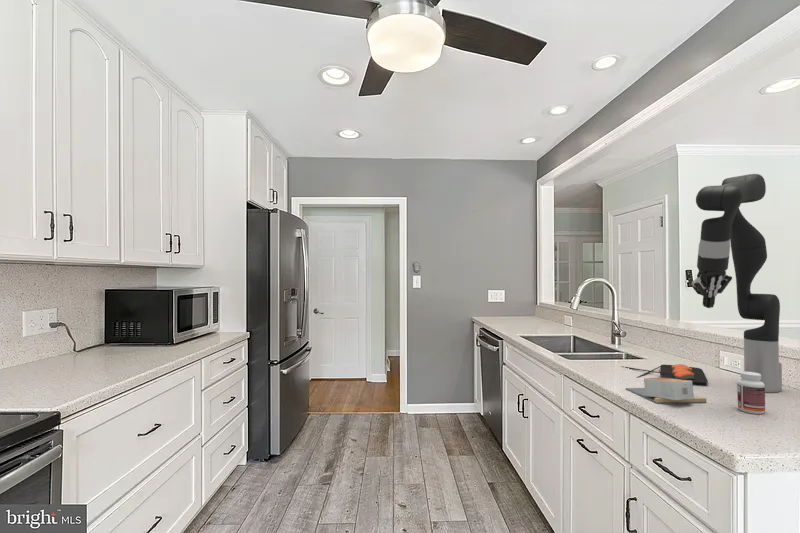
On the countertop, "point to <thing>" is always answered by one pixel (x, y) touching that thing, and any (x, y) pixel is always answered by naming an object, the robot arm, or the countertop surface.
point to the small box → (669, 388)
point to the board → (665, 401)
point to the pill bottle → (751, 393)
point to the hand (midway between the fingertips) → (708, 306)
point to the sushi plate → (679, 373)
